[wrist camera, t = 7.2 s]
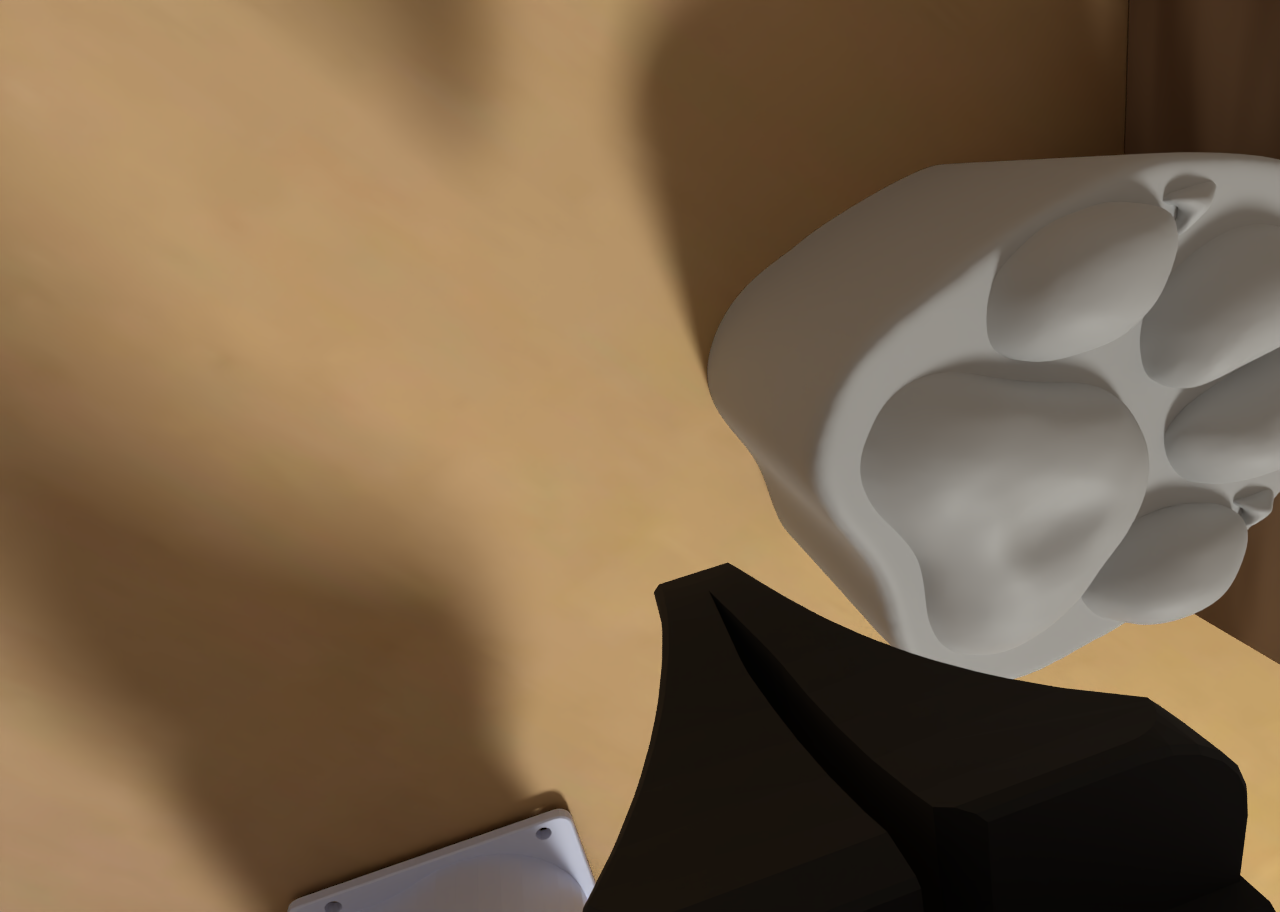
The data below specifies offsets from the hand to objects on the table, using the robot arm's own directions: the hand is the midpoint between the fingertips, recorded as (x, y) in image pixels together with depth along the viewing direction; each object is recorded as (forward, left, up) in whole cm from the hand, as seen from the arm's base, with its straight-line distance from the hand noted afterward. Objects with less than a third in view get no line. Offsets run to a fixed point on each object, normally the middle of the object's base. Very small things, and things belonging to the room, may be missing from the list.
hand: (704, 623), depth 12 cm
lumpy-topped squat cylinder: (+10, 0, -10) cm, 14 cm away
